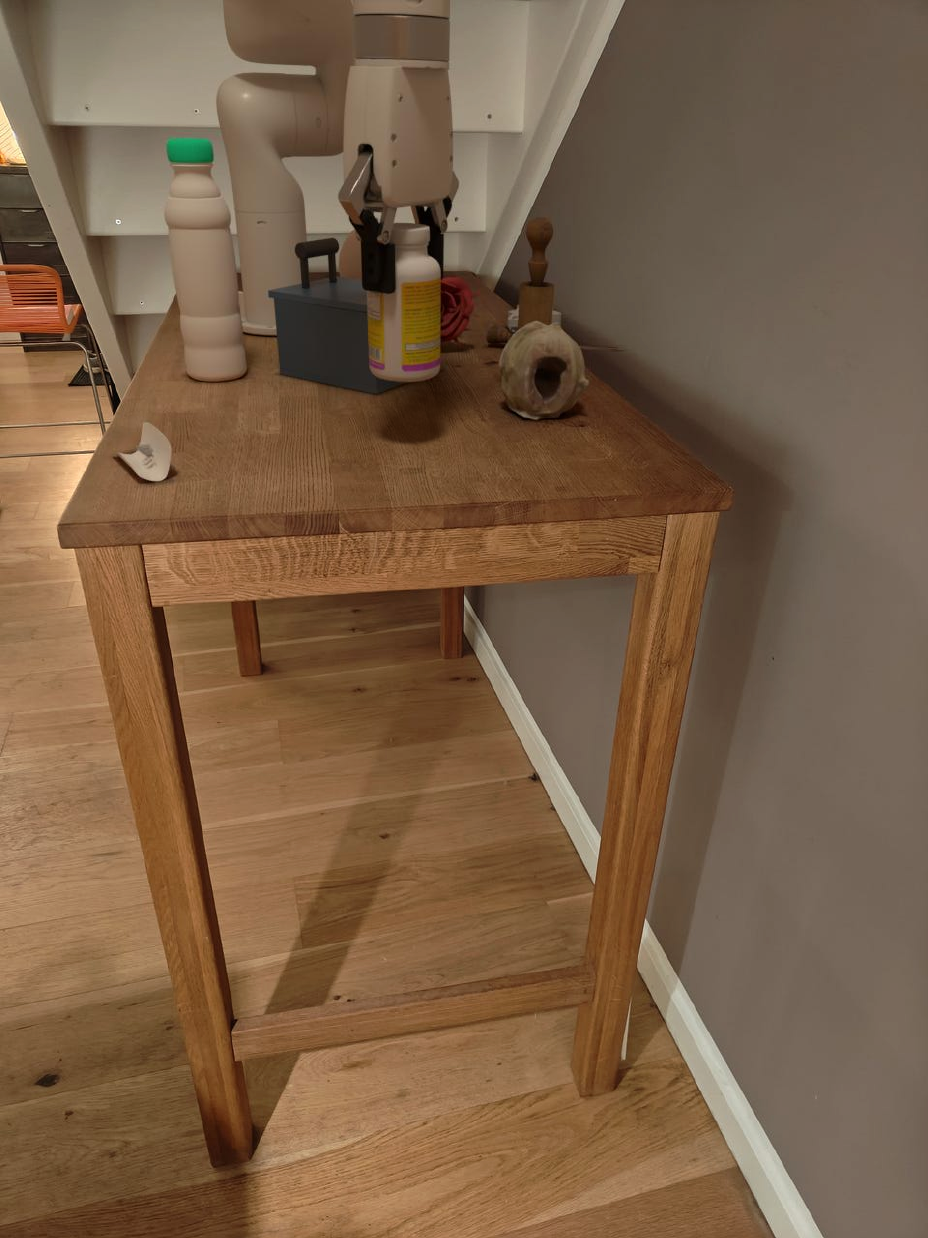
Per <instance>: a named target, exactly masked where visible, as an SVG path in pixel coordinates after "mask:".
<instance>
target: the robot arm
mask: <svg viewBox="0 0 928 1238" xmlns="http://www.w3.org/2000/svg"><path fill="white" fill-rule="evenodd" d="M222 6H223V8H222V9H223V20H224V29H225V34H226V35H225V36H226V40H227V44H228V45H229V48H230V49H231V51H232V53H233V54H234V55H235V56H236V57H238V58H239V59H241V60H243V61H245V62H249V63H253V64H262V65H276V66H277V65H278V66H279V65H282V66H303V67H314V68H315V74H303V73H301V74H300V73H299V74H298V73H293V74H292V73H283V72H256V71H254V72H242V73H237V74H234V75H230V76H229V77H227V78H226V79H224V80H223V81H222V82H221V83H220V85H219V87H218V89H217V91H216V96H215V97H216V98H215V105H216V114H217V115H216V116H217V121H218V124H219V128H220V132H221V136H222V141H223V145H224V149H225V154H226V158H227V163H228V170H229V178H230V183H231V193H232V200H233V209H234V216H235V217H234V219H235V227H236V236H237V238H236V239H237V247H238V248H237V249H238V255H239V256H238V258H239V265H240V267H239V268H240V275H241V283H242V284H241V285H242V291H241V290H238V296H239V313H240V316H241V320H242V328H243V333H246V334H250V335H258V336H277V331H276V320H275V308H274V298H269V297H268V290H272V289H277V288H282V287H287V286H292V285H297V284H302V283H301V269H300V259H299V258H298V257H297V256H296V254H295V246H296V244H297V243H300V242H307V241H308V235H307V222H306V221H307V220H306V207H305V198H304V193H303V190H302V187H301V186H300V184H299V182H298V181H297V179H296V178H295V177H294V175H293V174H292V172H290V171H289V169H288V168H287V167H286V165H285V164H284V162H283V161H282V160H283V159H285V158H293V157H294V158H296V157H298V158H299V157H300V158H301V157H302V158H303V157H306V158H307V157H308V158H309V157H310V158H311V157H312V158H315V157H316V158H317V157H319V158H320V157H334V156H339V155H342V154H343V157H342V158H343V159H342V161H343V162H342V163H343V165H342V166H343V184H342V186H341V188H340V189H339V192H338V194H337V196H338V202H339V203H340V205H341V207H342V208H343V210H344V212H345V213H346V215H347V216H348V222H349V223H350V225H351V226H352V228H353V230H354V229H355V230H356V232H355V236H356V239H357V240H358V241H361V267H362V287H363V289H364V290H367V291H373V292H379V293H385V294H391V293H394V292H395V289H396V283H395V244H394V243H388V242H389V240H390V236H391V232H392V228H393V224H394V223H395V219H396V214H397V211H398V209H399V208H405V207H410V209H411V213H412V218H413V221H414V223H415V224H423V225H427V226H429V228H430V241H429V242H428V243H429V244H428V246H427V253H428V255H429V256H431V257H432V258H434V259H435V260H436V261H437V262H438V264H439V266H440V271H441V280H442V279H443V278H444V260H445V259H444V258H445V257H444V255H445V251H444V250H445V234H446V232H447V231H448V226H449V224H448V223H449V222H448V218H449V215H450V213H451V212H452V210H453V209H452V208H453V202H454V199H455V197H456V194H457V192H458V190H459V187H460V181H459V179H458V177H457V175H456V174H455V173H456V172H455V171H454V127H453V126H454V125H453V109H452V107H453V105H452V95H451V84H450V77H449V76H450V75H449V70H450V47H451V46H450V44H451V43H450V41H451V39H450V38H451V36H450V35H451V20H450V19H451V0H222ZM375 213H381V214H380V217H379V218H380V219H379V221H378V219H377V217H376V216H375ZM308 267H309V268H310V266H309V264H308ZM309 282H311V281H310V279H309Z"/></svg>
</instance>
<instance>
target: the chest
mask: <svg viewBox="0 0 928 1238" xmlns="http://www.w3.org/2000/svg"><path fill="white" fill-rule="evenodd" d="M274 308H275V320H276V331H277V335H276V341H277V342H276V343H277V352H278V364H279V366H278V367H279V375H281V376H286V377H292V378H297V379H301V380H306V381H310V382H315V383H321V384H325V385H330V386H334V387H339V388H345V389H350V390H355V391H358V392H364V393H368V394H373V395H379V394H381V393H383V392H386V391H390V390H391V389H394V388H396V387H399V386H403V385H405V384H407V383H408V382H397V381H389V380H384V379H380V378H378V377H376V376H375V375H374V374H373V373H372V372H371V370H370V365H369V342H368V313H367V312H361V311H354V310H348V309H341V308H335V307H328V306H322V305H315V304H308V303H302V302H295V301H289V300H282V299H276V298H274Z"/></svg>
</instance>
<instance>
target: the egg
mask: <svg viewBox="0 0 928 1238" xmlns="http://www.w3.org/2000/svg"><path fill="white" fill-rule="evenodd" d="M355 232H356V230H355V229H354V228H353V230H351V231H350V232H349V233H348V234H347V235H346V238H345V240H344V241H343V242H342V246H341V249H340V250H339V251H340V252H339V256H338V272H339V276H340V277H347V278H355V279H362V267H361V241H358V240H357V239H356V236H355Z"/></svg>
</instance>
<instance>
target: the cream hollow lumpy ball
mask: <svg viewBox="0 0 928 1238" xmlns="http://www.w3.org/2000/svg"><path fill="white" fill-rule="evenodd" d="M579 346H580V345H579V344H578V343H577V342H576V341H575V340H574V339H573V338H572V337H571V336H570V335H569V334H567V332H565V331H564V329H563V328H562V326H561V327H560V325H559V323H556V322H555V323H552V324H551V325H546V324H543V323H541V322H539V321H534V322H531V323H529V324H527V325H525V326H524V327H522V328H520V329H519V330H518V331H517V332H515V334H514V335H513V336H512V337H511V338H510V340H509V341H508V343H505V346H504V348H503V349H502V351H501V354H500V357H499V361H498V366H499V367H498V368H499V369H500V376H501V378H500V379H501V380H500V389H501V393H502V394H501V395H503V397H504V399H505V401H506V404H507V406H508V408H509V409H510V410H511V411H513V412H516V414H518V415H519V416H521V417H523V418H525V419H526V418H527V419H531V420H535V421H536V420H539V419H556V418H560V416H561V415H562V414H563V413H565V412H568V411H570V410H571V409H573V407H574V406H575V404H577V402H578V399H579V397H580V396H581V395H582V394H583V391H586V389H588V388H589V386H590V380H589V379H587V378H586V366H585V365H586V364H585V358H584V355H583V352H582V349H580V347H579Z"/></svg>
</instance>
